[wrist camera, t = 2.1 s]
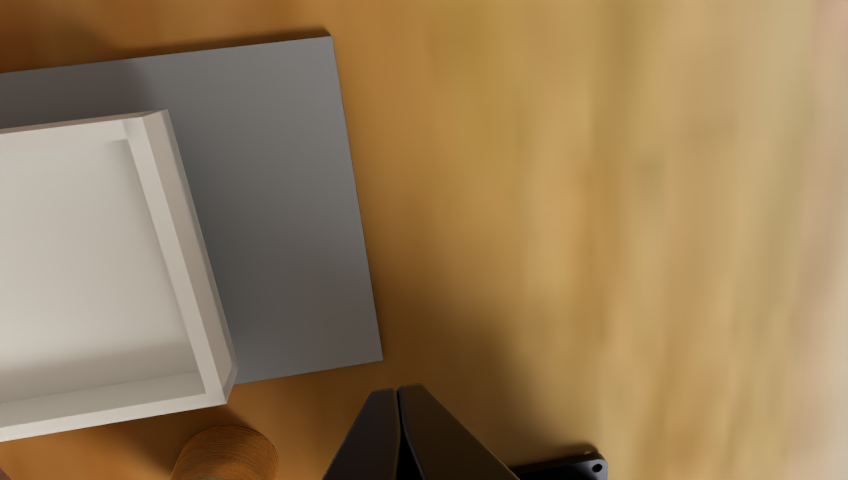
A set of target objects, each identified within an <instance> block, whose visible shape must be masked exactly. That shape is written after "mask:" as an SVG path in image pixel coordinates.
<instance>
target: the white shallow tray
mask: <svg viewBox="0 0 848 480" xmlns="http://www.w3.org/2000/svg"><path fill="white" fill-rule="evenodd" d="M238 370H239V365H238V362H237V358H236V355H235V351H234V347H233V344H232V340H231V336H230V333H229V329H228V326H227V322H226V318H225V315H224V311H223V307H222V304H221V300H220V297H219V293H218V289H217V286H216V282H215V279H214V275H213V271H212V268H211V264H210V260H209V257H208V253H207V250H206V246H205V242H204V239H203V235H202V231H201V228H200V224H199V221H198V217H197V213H196V210H195V206H194V202H193V199H192V195H191V192H190V188H189V184H188V181H187V177H186V174H185V170H184V166H183V163H182V159H181V155H180V152H179V148H178V145H177V141H176V137H175V134H174V130H173V126H172V123H171V119H170V116H169V112H168V109H162V110H154V111H145V112H137V113H129V114H121V115H112V116H104V117H96V118H88V119H79V120H71V121H63V122H55V123H46V124H38V125H30V126H22V127H13V128H5V129H0V442H3V441H9V440H15V439H20V438H26V437H32V436H38V435H44V434H50V433H56V432H62V431H68V430H74V429H80V428H86V427H92V426H98V425H104V424H110V423H116V422H122V421H128V420H134V419H139V418H145V417H151V416H157V415H163V414H169V413H175V412H181V411H187V410H193V409H199V408H205V407H211V406H217V405H223V404H227V401H228V398H229V395H230V393H231V390H232V387H233V384H234V381H235V379H236V376H237V373H238Z"/></svg>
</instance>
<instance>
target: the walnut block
mask: <svg viewBox="0 0 848 480" xmlns="http://www.w3.org/2000/svg"><path fill="white" fill-rule="evenodd" d="M0 480H11V479H10V478H9V477H8V476H7V475H6V474H5V473H4V471H3V470H2V469H1V468H0Z"/></svg>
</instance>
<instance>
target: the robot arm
mask: <svg viewBox="0 0 848 480" xmlns="http://www.w3.org/2000/svg"><path fill="white" fill-rule="evenodd" d="M595 464H596V465H595ZM594 465H595V466H594ZM607 473H608V465H607V462H606V461H605V459H604V457H603V456H602V455H601V454H599V453H591V454H586V455H580V456H575V457H570V458H564V459H559V460H554V461H548V462H543V463H538V464H532V465H527V466H521V467H516V468H511V469H509V468H508V467H507V466H506V465H505V464H504V463H503V462H502V461H501V460H500V459H499V458H498V457H497V456H496V455H495V454H493V453H492V452H491V451H490V450H489V449H488V448H487V447H486V446H485V445H484V444H483V443H482V442H481V441H480V440H479V439H478V438H477V437H476V436H475V435H474V434H473V433H472V432H471V431H470V430H469V429H468V428H467V427H466V426H465V425H464V424H463V423H462V422H461V421H460V420H459V419H458V418H457V417H456V416H455V415H454V414H453V413H452V412H451V411H450V410H449V409H448V408H447V407H446V406H445V405H444V404H443V403H442V402H441V401H440V400H439V399H438V398H437V397H436V396H435V395H434V394H433V393H432V392H431V391H430V390H429V389H428V388H427V387H426V386H425V385H423V384H421V383H417V384H411V385H405V386H401V387H399V388H398V391H397V389H396V388H388V389H382V390H376V391H373V392H372V393H371V394H370V395H369V397H368V399H367V401H366V402H365V404H364V406H363V408H362V409H361V411H360V413H359V415H358V417H357V418H356V420H355V422H354V424H353V425H352V427H351V429H350V431H349V432H348V434H347V436H346V438H345V440H344V441H343V443H342V445H341V447H340V448H339V450H338V452H337V454H336V455H335V457H334V459H333V461H332V462H331V464H330V466H329V468H328V470H327V471H326V473H325V475H324V477H323V478H322V480H607Z"/></svg>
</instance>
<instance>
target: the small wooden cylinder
mask: <svg viewBox="0 0 848 480" xmlns="http://www.w3.org/2000/svg"><path fill="white" fill-rule="evenodd" d="M278 466H279V463H278V456H277V453H276V450H275V449H274V447H273V445H272V444H271V443H270V442H269V441H268V440H267V439H266V438H265V437H264V436H262V435H261V434H259V433H258V432H256V431H253V430H251V429H248V428H245V427H241V426H233V425H223V426H216V427H212V428H209V429H206V430H203V431H201V432H199V433H197V434H196V435H194V436H193V437H192V438H191V439H189V440H188V442H187V443H186V444H185V445H184V447H183V448H182V450H181V453H180V455H179V457H178V460H177V462H176V464H175V467H174V469H173V471H172V474H171V476H170V478H169V480H276V478H277V472H278Z"/></svg>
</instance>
